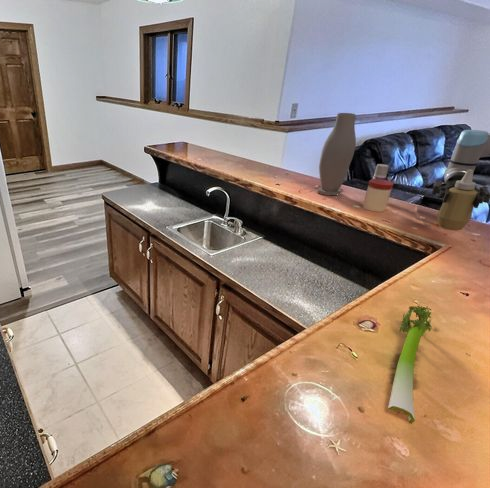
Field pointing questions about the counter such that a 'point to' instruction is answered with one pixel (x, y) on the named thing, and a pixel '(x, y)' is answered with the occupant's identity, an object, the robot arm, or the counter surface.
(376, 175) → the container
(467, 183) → the squeeze bottle
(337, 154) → the vase
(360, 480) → the counter surface
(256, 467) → the counter surface
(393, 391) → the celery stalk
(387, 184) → the lid
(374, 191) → the jar
